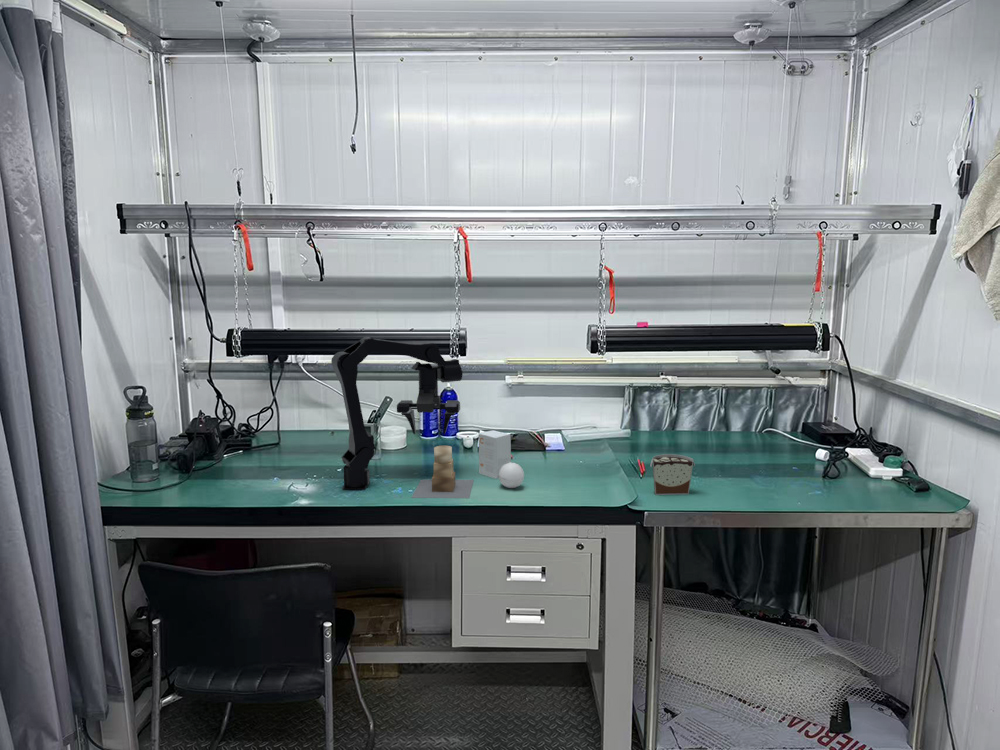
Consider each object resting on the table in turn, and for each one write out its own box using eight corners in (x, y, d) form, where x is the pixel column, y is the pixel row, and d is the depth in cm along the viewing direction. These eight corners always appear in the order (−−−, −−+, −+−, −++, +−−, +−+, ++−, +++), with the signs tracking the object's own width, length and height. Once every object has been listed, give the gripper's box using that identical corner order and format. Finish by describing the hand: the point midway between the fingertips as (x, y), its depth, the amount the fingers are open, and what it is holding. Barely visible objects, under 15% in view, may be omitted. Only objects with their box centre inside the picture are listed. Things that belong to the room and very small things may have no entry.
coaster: (411, 498, 174) (411, 497, 174) (420, 480, 190) (420, 479, 190) (469, 499, 173) (469, 498, 173) (474, 480, 189) (474, 479, 189)
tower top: (433, 477, 179) (433, 463, 178) (436, 472, 184) (436, 458, 183) (451, 477, 178) (451, 464, 178) (453, 472, 183) (453, 458, 183)
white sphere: (523, 483, 186) (523, 459, 185) (524, 491, 179) (524, 466, 178) (489, 483, 187) (489, 459, 185) (489, 491, 179) (488, 466, 178)
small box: (511, 475, 194) (511, 434, 192) (496, 480, 190) (496, 437, 188) (493, 469, 200) (493, 429, 198) (478, 474, 196) (477, 433, 194)
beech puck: (433, 463, 178) (432, 450, 177) (435, 458, 183) (435, 445, 182) (450, 463, 178) (450, 450, 177) (453, 458, 183) (452, 445, 182)
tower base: (432, 491, 179) (431, 478, 178) (435, 484, 185) (434, 471, 184) (453, 491, 178) (452, 478, 178) (455, 485, 184) (455, 471, 184)
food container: (687, 487, 182) (688, 453, 181) (694, 494, 176) (695, 459, 175) (644, 487, 182) (645, 453, 180) (650, 494, 176) (651, 460, 174)
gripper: (392, 388, 184) (393, 440, 186) (456, 388, 183) (457, 440, 185) (399, 382, 195) (401, 431, 197) (460, 382, 194) (460, 431, 196)
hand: (429, 434), depth 194 cm, fingers open, 9 cm apart
